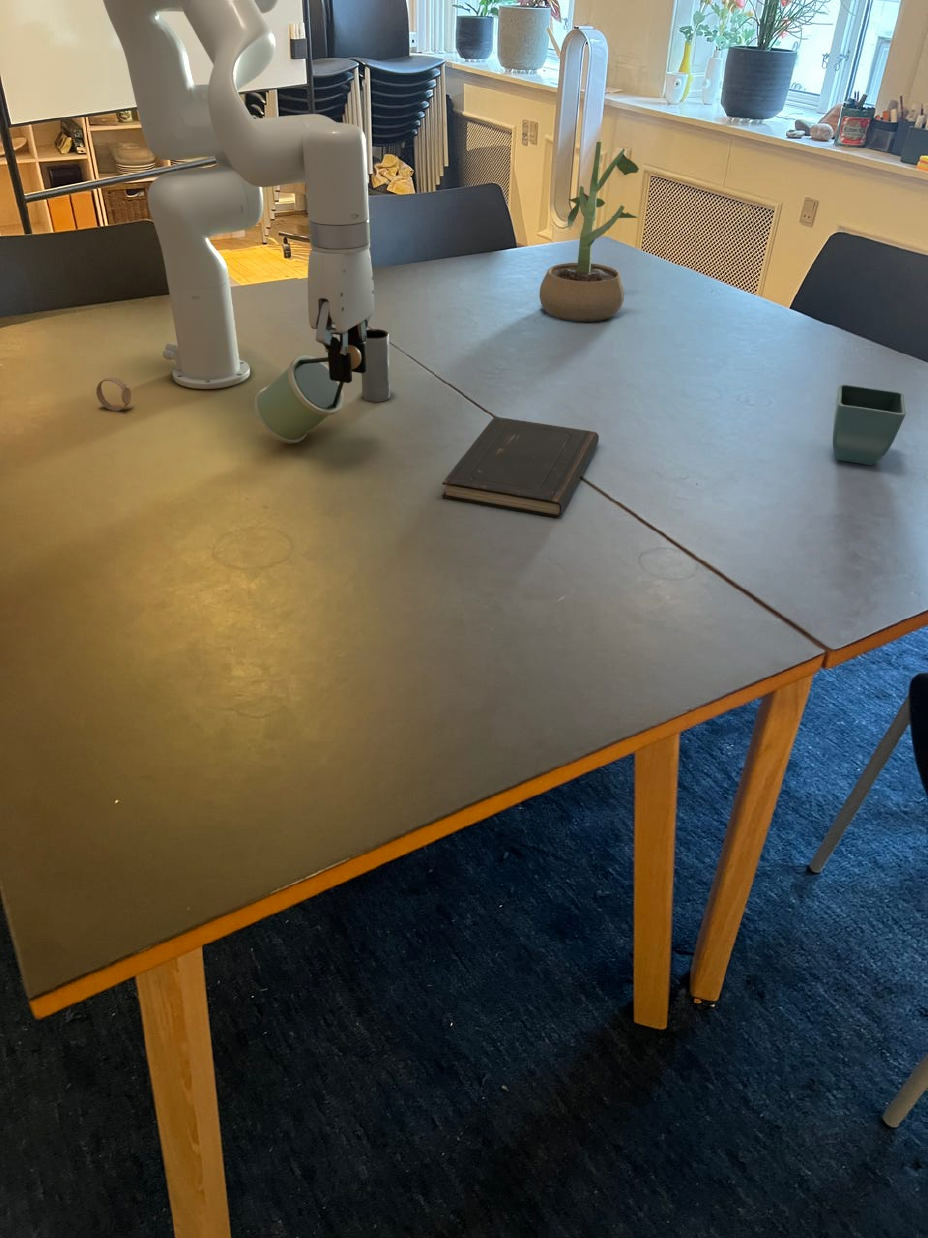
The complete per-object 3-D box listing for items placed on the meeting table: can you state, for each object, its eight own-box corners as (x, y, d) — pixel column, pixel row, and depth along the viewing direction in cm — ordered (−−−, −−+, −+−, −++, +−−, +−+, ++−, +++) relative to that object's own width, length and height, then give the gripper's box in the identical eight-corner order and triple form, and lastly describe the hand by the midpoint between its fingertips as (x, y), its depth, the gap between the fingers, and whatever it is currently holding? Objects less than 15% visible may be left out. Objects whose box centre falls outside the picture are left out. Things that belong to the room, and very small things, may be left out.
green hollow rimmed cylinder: (283, 453, 135) (242, 401, 133) (316, 429, 142) (277, 379, 140) (361, 389, 124) (318, 332, 122) (392, 367, 131) (352, 312, 129)
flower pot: (886, 449, 140) (904, 391, 135) (888, 474, 133) (906, 414, 128) (824, 440, 142) (839, 382, 137) (822, 464, 135) (838, 404, 130)
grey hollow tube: (386, 403, 151) (384, 339, 145) (359, 400, 151) (355, 336, 146) (393, 392, 154) (392, 330, 148) (367, 390, 155) (364, 327, 149)
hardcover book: (442, 497, 125) (442, 481, 124) (493, 430, 143) (494, 416, 141) (560, 518, 121) (561, 502, 120) (598, 446, 139) (599, 432, 137)
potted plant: (623, 328, 183) (642, 157, 166) (531, 319, 187) (541, 151, 169) (633, 295, 201) (652, 138, 184) (549, 288, 205) (560, 133, 187)
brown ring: (126, 413, 146) (119, 382, 143) (97, 411, 146) (90, 379, 143) (134, 407, 148) (128, 376, 145) (106, 404, 148) (99, 373, 146)
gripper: (345, 218, 126) (352, 353, 137) (278, 245, 114) (292, 392, 124) (395, 224, 124) (399, 361, 134) (333, 252, 111) (343, 401, 122)
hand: (348, 374), depth 129 cm, fingers closed on green hollow rimmed cylinder, 3 cm apart
